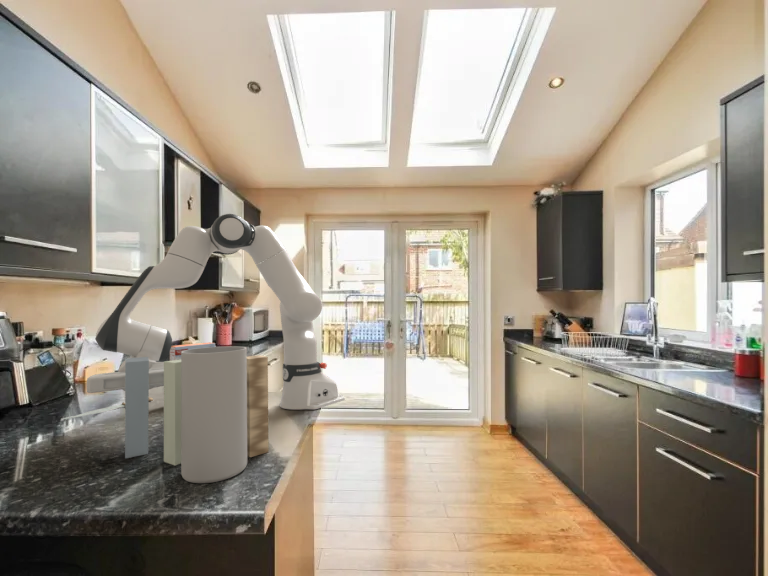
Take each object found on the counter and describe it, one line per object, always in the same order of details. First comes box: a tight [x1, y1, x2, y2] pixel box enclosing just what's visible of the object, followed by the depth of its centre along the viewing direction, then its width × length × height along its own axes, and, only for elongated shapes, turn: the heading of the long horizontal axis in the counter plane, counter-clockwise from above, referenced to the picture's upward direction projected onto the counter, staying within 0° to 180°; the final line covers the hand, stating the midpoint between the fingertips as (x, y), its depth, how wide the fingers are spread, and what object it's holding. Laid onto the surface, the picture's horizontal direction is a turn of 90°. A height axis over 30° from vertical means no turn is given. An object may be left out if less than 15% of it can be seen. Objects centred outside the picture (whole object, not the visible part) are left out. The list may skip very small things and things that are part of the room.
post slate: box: [124, 357, 150, 459], centre depth 91 cm, size 4×4×22 cm
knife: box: [62, 396, 154, 420], centre depth 132 cm, size 27×2×5 cm
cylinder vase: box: [180, 346, 248, 484], centre depth 81 cm, size 12×12×25 cm
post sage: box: [163, 359, 181, 466], centre depth 87 cm, size 4×4×22 cm
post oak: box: [247, 354, 270, 458], centre depth 91 cm, size 4×4×22 cm
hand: (136, 383), depth 93 cm, fingers closed
